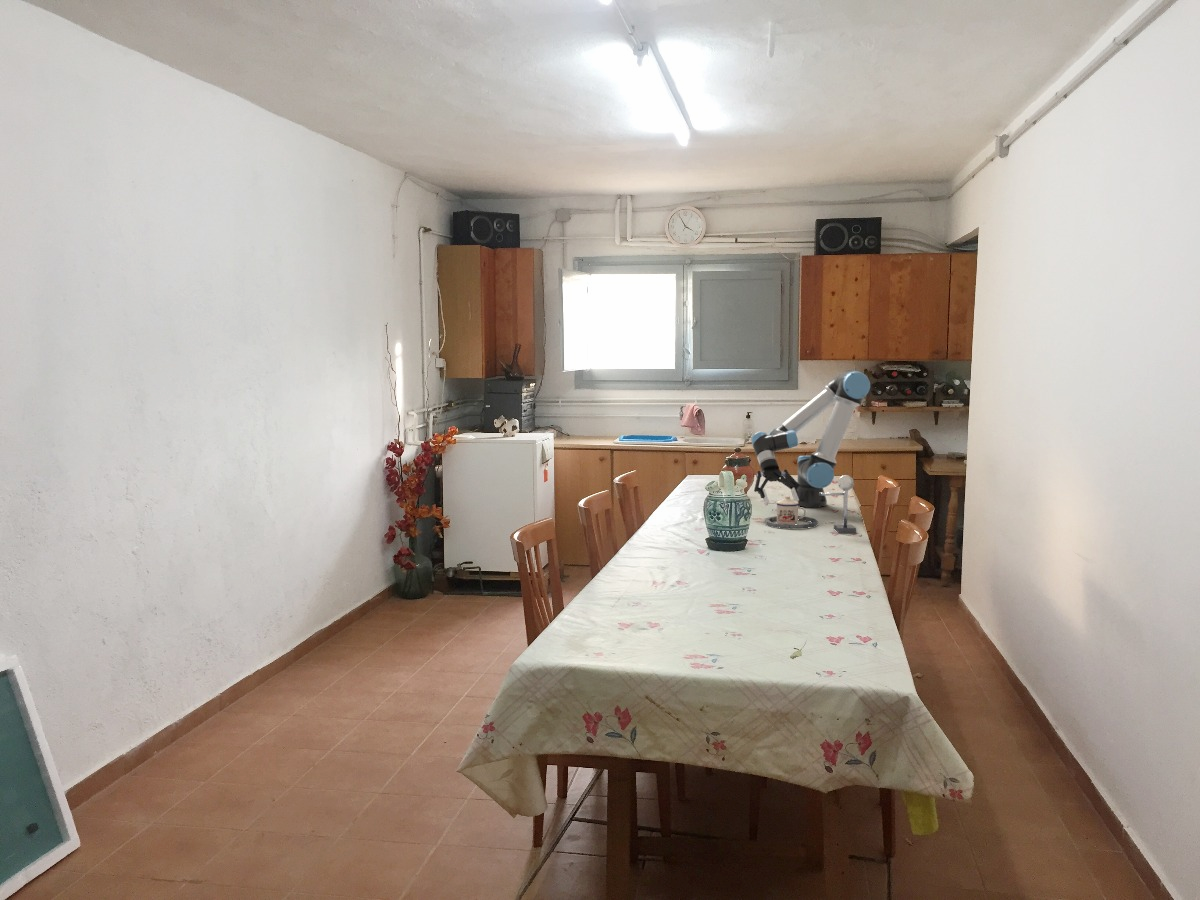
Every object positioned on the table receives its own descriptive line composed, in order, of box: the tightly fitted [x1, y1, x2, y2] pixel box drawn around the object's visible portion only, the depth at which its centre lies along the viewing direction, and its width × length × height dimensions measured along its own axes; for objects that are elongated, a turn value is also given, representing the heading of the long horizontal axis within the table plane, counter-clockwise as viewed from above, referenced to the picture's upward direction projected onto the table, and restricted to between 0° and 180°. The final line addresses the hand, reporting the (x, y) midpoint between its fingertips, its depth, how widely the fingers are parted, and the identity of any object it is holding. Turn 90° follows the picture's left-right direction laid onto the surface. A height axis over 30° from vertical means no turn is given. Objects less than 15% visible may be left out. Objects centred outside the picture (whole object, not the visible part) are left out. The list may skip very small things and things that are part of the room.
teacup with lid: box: [776, 495, 807, 525], centre depth 373 cm, size 12×9×12 cm
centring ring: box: [764, 515, 819, 529], centre depth 374 cm, size 21×21×2 cm
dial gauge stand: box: [819, 474, 857, 534], centre depth 357 cm, size 14×7×22 cm, turn 90°
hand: (782, 502), depth 382 cm, fingers open, 13 cm apart
